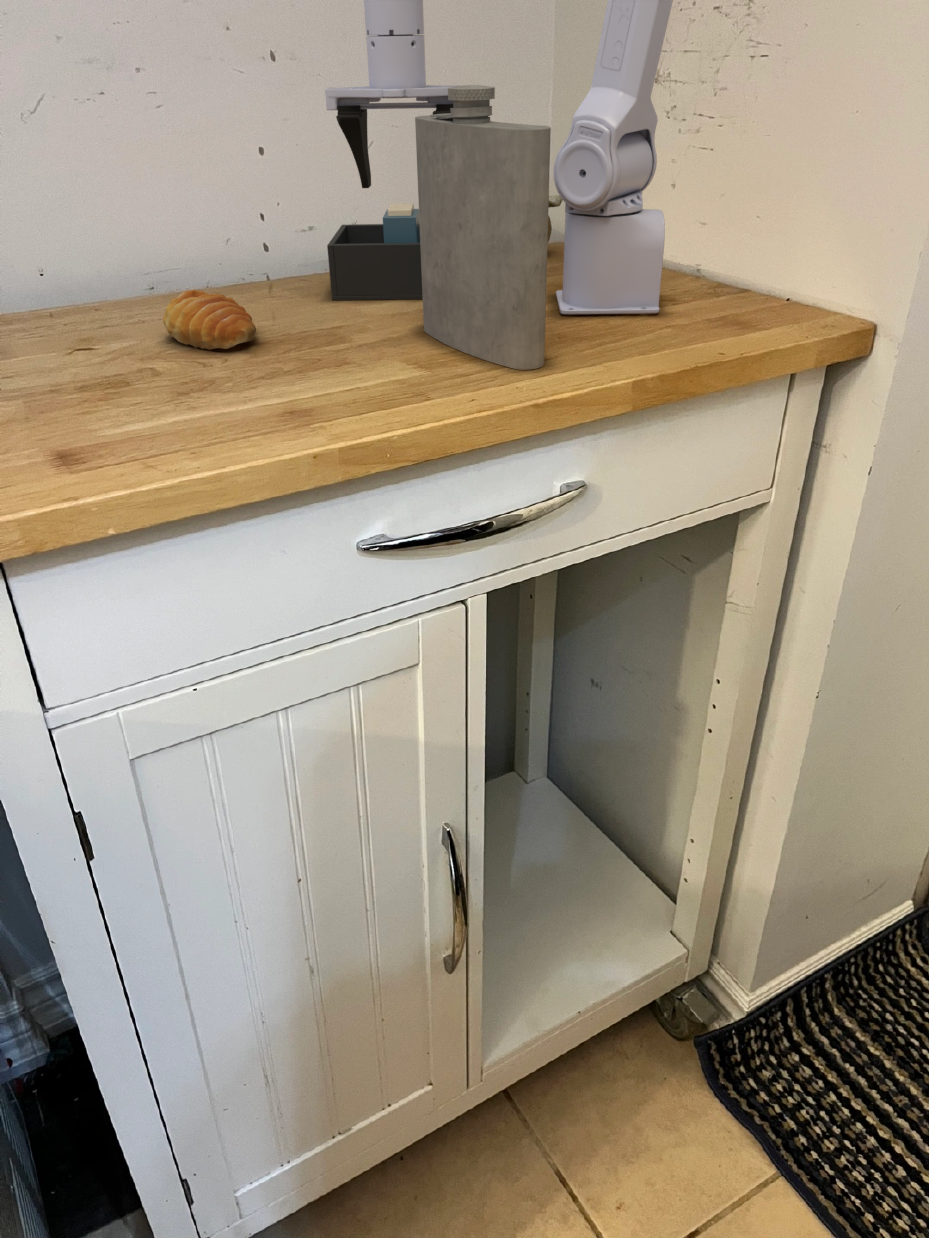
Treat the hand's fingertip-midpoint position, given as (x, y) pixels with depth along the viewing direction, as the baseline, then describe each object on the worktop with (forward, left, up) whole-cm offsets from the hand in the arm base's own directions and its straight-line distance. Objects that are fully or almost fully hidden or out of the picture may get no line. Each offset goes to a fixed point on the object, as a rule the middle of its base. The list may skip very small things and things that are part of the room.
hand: (402, 186), depth 99 cm
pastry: (+16, +23, -10) cm, 29 cm away
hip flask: (-8, +26, -10) cm, 29 cm away
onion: (-13, -11, -10) cm, 20 cm away
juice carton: (0, +4, -9) cm, 10 cm away
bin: (0, +4, -9) cm, 10 cm away
